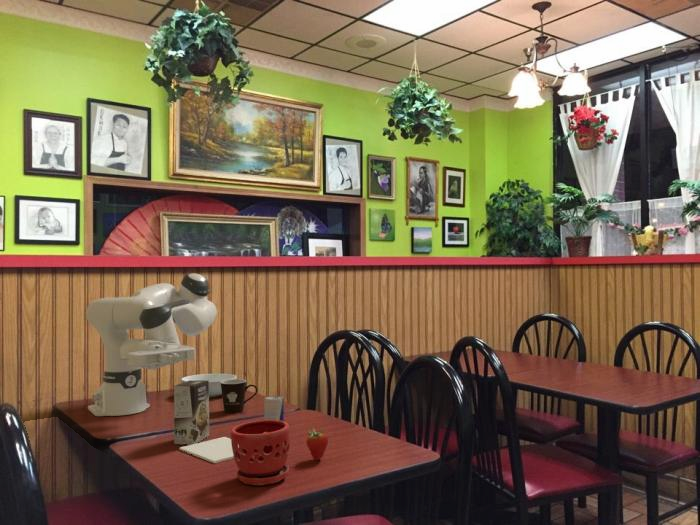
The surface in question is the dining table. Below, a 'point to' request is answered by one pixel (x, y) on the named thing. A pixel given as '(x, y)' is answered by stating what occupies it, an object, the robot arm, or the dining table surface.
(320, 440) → the fruit
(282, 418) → the energy drink
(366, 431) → the dining table surface
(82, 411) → the dining table surface
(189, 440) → the coffee box
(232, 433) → the plant pot
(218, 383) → the serving bowl
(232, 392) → the coffee mug
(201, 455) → the mat
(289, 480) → the dining table surface
